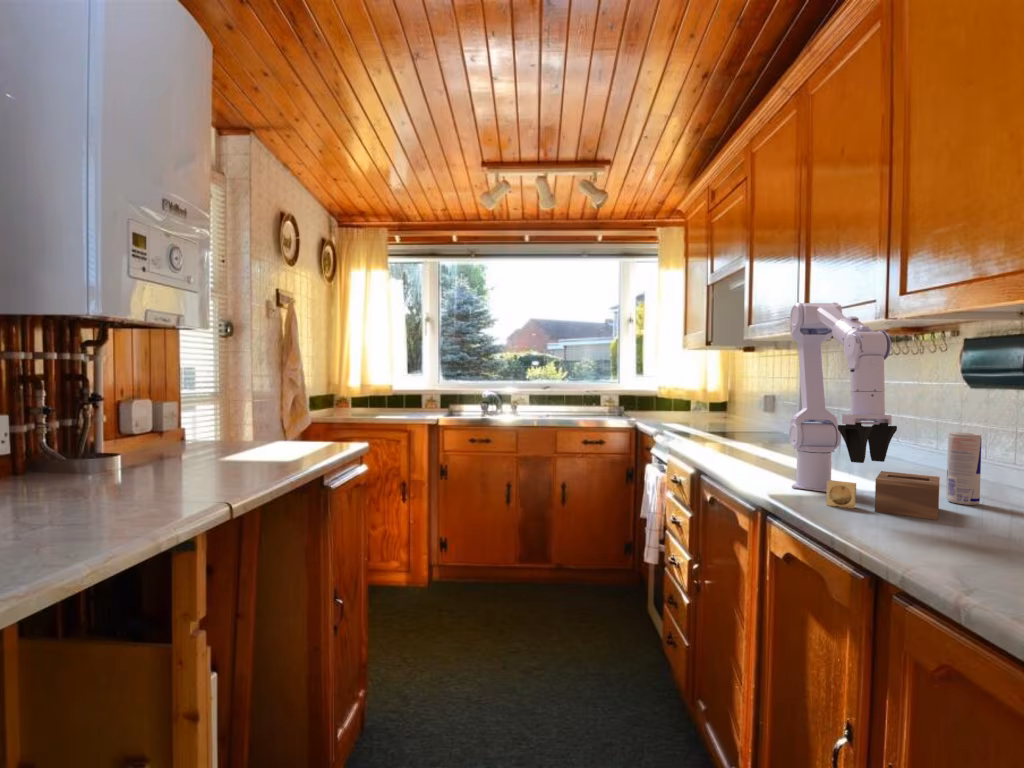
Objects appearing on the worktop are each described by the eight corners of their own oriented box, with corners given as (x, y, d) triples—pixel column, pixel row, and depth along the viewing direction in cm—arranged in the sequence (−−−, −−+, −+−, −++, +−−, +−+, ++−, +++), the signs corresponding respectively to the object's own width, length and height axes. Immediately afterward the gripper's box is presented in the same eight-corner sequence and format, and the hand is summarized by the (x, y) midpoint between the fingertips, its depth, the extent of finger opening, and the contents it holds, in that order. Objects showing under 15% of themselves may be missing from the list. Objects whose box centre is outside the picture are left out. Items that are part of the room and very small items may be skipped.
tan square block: (828, 503, 120) (828, 479, 120) (855, 507, 117) (856, 483, 117) (826, 505, 118) (826, 481, 118) (854, 509, 115) (854, 484, 115)
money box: (880, 501, 122) (881, 470, 122) (938, 508, 116) (939, 476, 116) (874, 511, 113) (875, 478, 113) (937, 520, 107) (938, 485, 107)
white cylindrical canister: (985, 506, 118) (987, 434, 118) (955, 505, 120) (957, 433, 119) (969, 500, 124) (972, 432, 124) (940, 499, 125) (942, 431, 125)
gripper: (869, 390, 105) (870, 464, 104) (908, 393, 112) (908, 462, 112) (830, 391, 111) (831, 461, 110) (870, 393, 118) (870, 459, 118)
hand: (867, 461), depth 111 cm, fingers open, 7 cm apart
